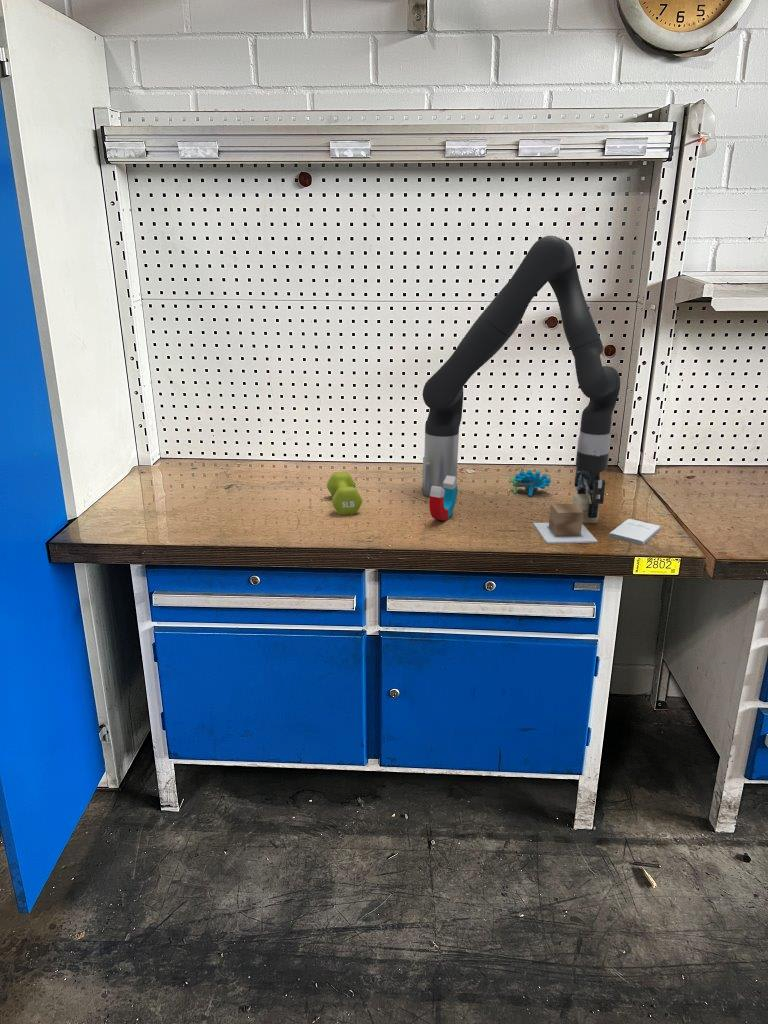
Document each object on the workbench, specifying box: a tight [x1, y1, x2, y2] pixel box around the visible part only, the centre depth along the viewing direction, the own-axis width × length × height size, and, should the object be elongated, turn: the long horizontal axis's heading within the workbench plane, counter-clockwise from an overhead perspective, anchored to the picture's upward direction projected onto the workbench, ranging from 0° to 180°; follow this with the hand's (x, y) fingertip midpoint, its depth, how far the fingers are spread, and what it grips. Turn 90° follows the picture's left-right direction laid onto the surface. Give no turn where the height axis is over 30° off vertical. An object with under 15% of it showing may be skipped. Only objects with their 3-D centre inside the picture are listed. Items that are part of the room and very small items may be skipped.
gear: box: [510, 469, 552, 497], centre depth 193 cm, size 11×6×10 cm
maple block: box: [572, 493, 601, 524], centre depth 175 cm, size 5×5×6 cm
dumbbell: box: [326, 471, 363, 516], centre depth 183 cm, size 16×8×7 cm, turn 10°
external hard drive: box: [608, 518, 661, 546], centre depth 168 cm, size 2×8×12 cm
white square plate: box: [532, 522, 599, 545], centre depth 167 cm, size 12×12×1 cm
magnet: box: [428, 475, 458, 522], centre depth 174 cm, size 12×3×10 cm, turn 152°
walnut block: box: [548, 503, 583, 537], centre depth 166 cm, size 6×6×6 cm
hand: (586, 511), depth 175 cm, fingers open, 8 cm apart
